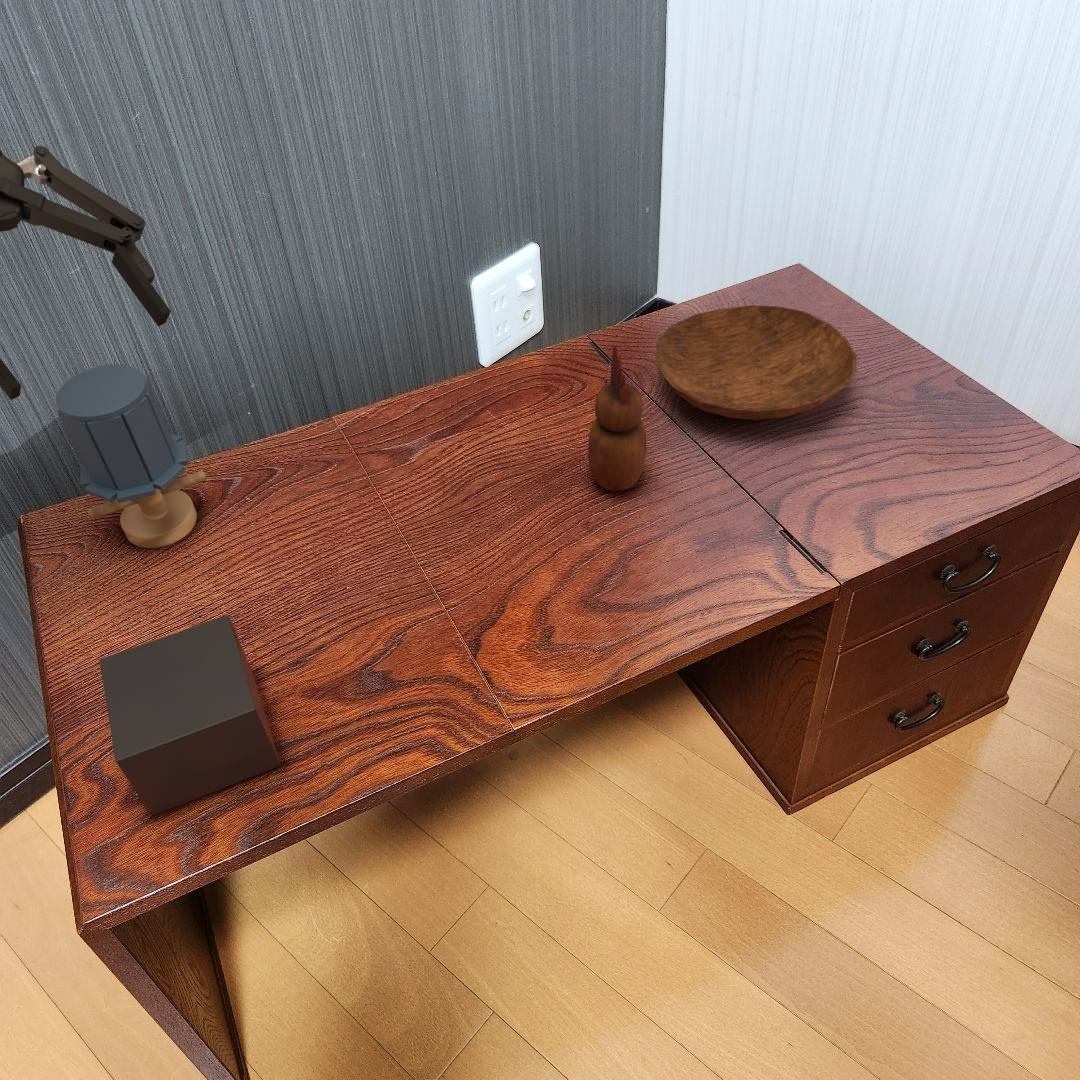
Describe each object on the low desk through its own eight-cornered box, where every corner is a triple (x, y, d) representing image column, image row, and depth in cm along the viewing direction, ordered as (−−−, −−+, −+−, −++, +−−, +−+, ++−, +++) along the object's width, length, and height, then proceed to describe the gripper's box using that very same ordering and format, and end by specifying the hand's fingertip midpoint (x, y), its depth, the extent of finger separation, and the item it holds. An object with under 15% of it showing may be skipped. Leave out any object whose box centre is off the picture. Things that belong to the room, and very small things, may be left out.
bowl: (879, 426, 101) (890, 389, 97) (686, 461, 98) (690, 424, 94) (802, 328, 114) (810, 292, 111) (631, 357, 111) (632, 321, 108)
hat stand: (110, 566, 90) (41, 437, 78) (97, 522, 94) (30, 394, 82) (226, 524, 93) (177, 395, 82) (208, 483, 98) (159, 356, 86)
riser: (152, 816, 71) (115, 761, 65) (134, 716, 77) (98, 658, 72) (281, 766, 74) (256, 709, 68) (253, 673, 80) (228, 614, 74)
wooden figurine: (591, 455, 99) (593, 334, 88) (646, 458, 98) (654, 337, 87) (584, 498, 94) (585, 377, 83) (641, 502, 94) (650, 380, 83)
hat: (60, 483, 87) (18, 406, 80) (133, 424, 93) (100, 348, 86) (138, 513, 84) (101, 435, 77) (208, 449, 89) (179, 372, 83)
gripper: (64, 104, 83) (210, 307, 87) (-239, 206, 70) (-54, 440, 74) (72, 52, 77) (228, 274, 80) (-260, 155, 64) (-56, 413, 68)
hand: (94, 354), depth 77 cm, fingers open, 13 cm apart
